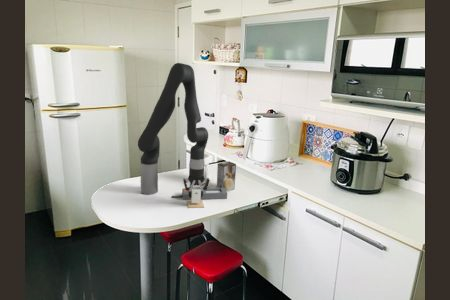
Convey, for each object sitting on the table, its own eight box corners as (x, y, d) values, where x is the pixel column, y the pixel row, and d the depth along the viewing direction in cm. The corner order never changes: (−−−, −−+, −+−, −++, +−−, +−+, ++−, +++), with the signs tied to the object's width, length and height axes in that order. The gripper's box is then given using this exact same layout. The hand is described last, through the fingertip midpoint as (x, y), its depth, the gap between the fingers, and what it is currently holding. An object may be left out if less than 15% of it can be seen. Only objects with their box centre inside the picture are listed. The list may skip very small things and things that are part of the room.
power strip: (172, 200, 172) (172, 193, 171) (171, 194, 180) (171, 187, 179) (226, 198, 179) (227, 192, 177) (224, 193, 186) (224, 186, 185)
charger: (191, 203, 166) (192, 190, 165) (190, 199, 171) (191, 187, 169) (200, 202, 167) (200, 190, 165) (199, 199, 172) (199, 186, 170)
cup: (206, 186, 194) (207, 159, 189) (188, 184, 196) (188, 157, 191) (210, 180, 204) (211, 154, 200) (193, 178, 206) (194, 152, 202)
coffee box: (228, 186, 197) (229, 161, 192) (234, 189, 192) (236, 163, 188) (216, 189, 191) (217, 163, 187) (222, 192, 186) (224, 166, 182)
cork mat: (188, 208, 165) (188, 207, 165) (187, 201, 173) (187, 200, 172) (204, 207, 167) (204, 206, 167) (202, 200, 174) (202, 199, 174)
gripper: (183, 169, 159) (182, 200, 164) (211, 168, 162) (210, 199, 167) (182, 164, 166) (181, 194, 171) (209, 163, 169) (208, 194, 174)
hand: (195, 197), depth 169 cm, fingers open, 4 cm apart
